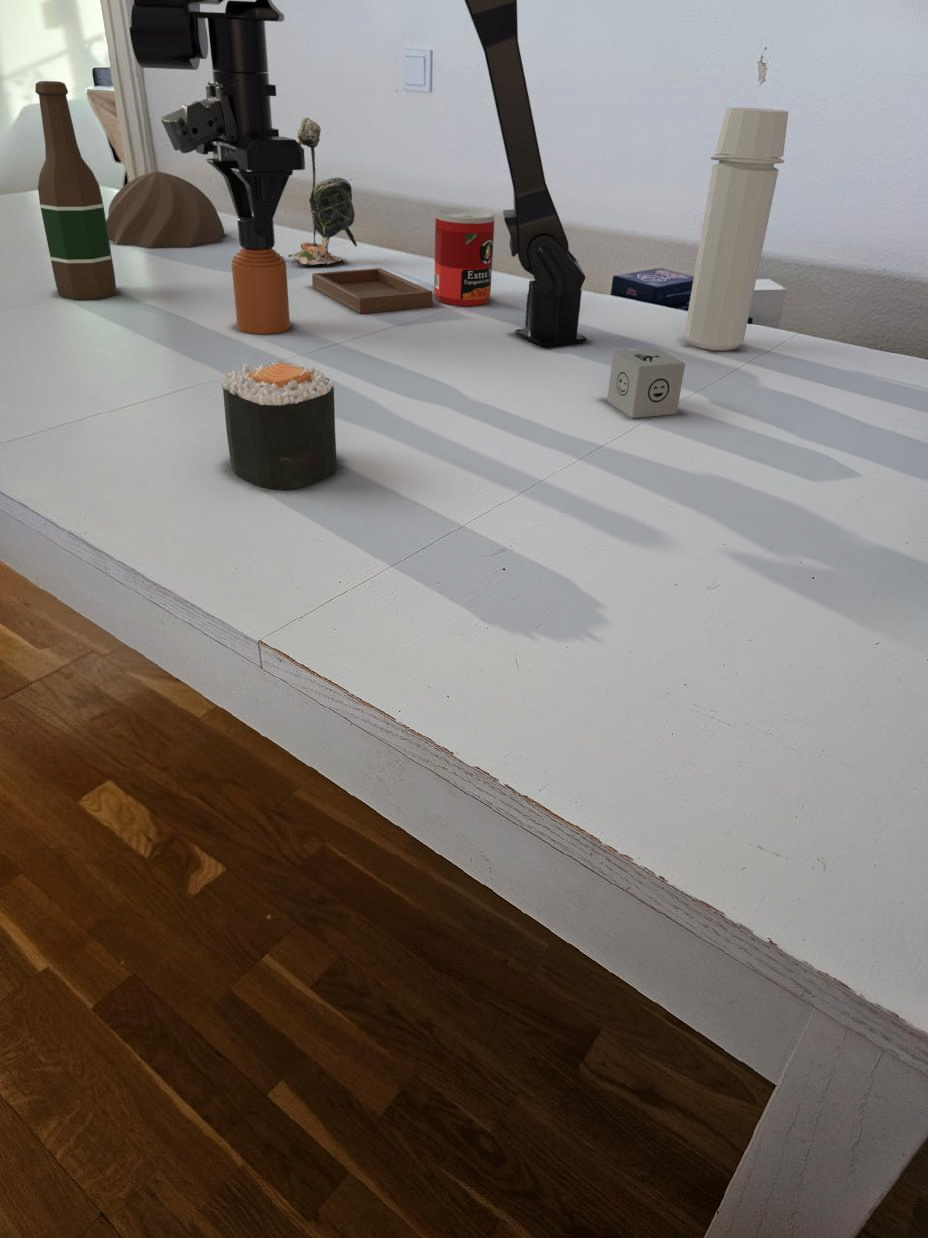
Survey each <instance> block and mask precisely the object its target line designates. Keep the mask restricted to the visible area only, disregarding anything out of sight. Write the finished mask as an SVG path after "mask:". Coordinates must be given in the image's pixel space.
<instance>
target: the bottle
mask: <svg viewBox="0 0 928 1238" xmlns="http://www.w3.org/2000/svg"><path fill="white" fill-rule="evenodd" d="M286 261H287V260H285V257H283V256H282V255H281V254H280V253H279V252H277V251H276V250H275V249H273V247H272V248H267V249H249V248H243V247H242V249H240V250H239V252H237V253H236V254H235V256H233V257H232V260H231V261H230V262H231V275H232V284H233V296H234V307H235V315H236V327H237V329H238V330H239V331H241V332H243V333H247V334H254V335H271V334H279V333H283V332H287V331H288V330H290V328H291V321H290V320H291V319H290V305H289V291H288V290H289V288H288V276H287V275H288V274H287V262H286Z"/></svg>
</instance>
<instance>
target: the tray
mask: <svg viewBox="0 0 928 1238" xmlns="http://www.w3.org/2000/svg"><path fill="white" fill-rule="evenodd" d="M311 278H312V280H311V281H312V288H313V289H315V290H317V291H318V292H320V293H322V294H324V295H326V296H327V297H329V298H331V299H332V300H335V301H336V302H338V303H340V304H342V305H344V306H345V307H346V308H349V309H351V310H353V311H355V312H356V313H358V314H360V315H362V314H371V313H372V314H373V313H381V312H382V313H383V312H390V311H391V312H392V311H400V310H410V309H420V308H430V307H433V291H432V290H430V289H427V288H425V287H423V286H421V285H418V284H416V283H414V282H412V281H410V280H408V279H405V278H403V277H400V276H399V275H396V274H394V273H392V272H390V271H388V270H386V269H383V268H381V267H376V268H364V269H351V270H340V271H339V270H338V271H325V272H313V273H311Z"/></svg>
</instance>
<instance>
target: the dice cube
mask: <svg viewBox="0 0 928 1238" xmlns="http://www.w3.org/2000/svg"><path fill="white" fill-rule="evenodd" d="M685 369H686V362H684V361H683V360H680V359H679V358H678V357H675V356H673V355H672V354H669V353H668V352H666V351H664V350H662V349H660V348H658V347H657V348H655V347H654V348H642V349H629V350H628V349H627V350H615V351H613V353H612V360H611V368H610V376H609V383H608V392H607V400H606V402H607V403H608V404H610V405H612V406H613V407H615V408H616V409H618V411H621V412H622V413H623V414H624V415H626V416H627V417H629V418H631V419H639V418H648V417H649V418H650V417H658V416H659V417H660V416H668V415H677V413H678V409H679V402H680V397H681V390H682V385H683V379H684V373H685Z"/></svg>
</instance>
